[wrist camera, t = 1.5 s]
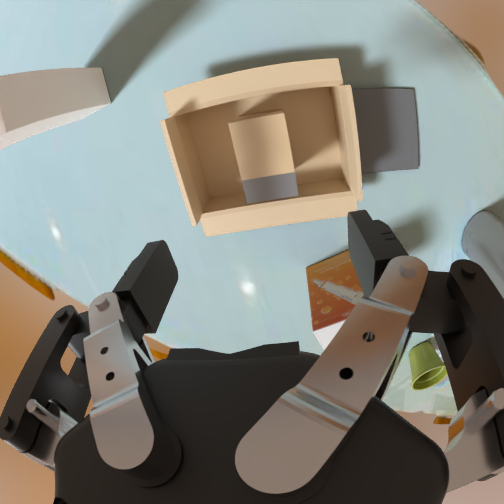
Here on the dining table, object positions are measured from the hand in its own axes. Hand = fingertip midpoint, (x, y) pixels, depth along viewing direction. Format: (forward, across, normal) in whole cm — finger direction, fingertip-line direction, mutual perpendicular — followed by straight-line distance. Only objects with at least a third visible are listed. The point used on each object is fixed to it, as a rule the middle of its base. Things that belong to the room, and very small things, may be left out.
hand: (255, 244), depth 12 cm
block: (+24, 0, 0) cm, 24 cm away
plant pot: (+24, -28, +48) cm, 61 cm away
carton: (+24, 0, 0) cm, 24 cm away
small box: (+24, -7, +21) cm, 33 cm away
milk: (+24, +22, -14) cm, 36 cm away
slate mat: (+24, -16, 0) cm, 29 cm away
